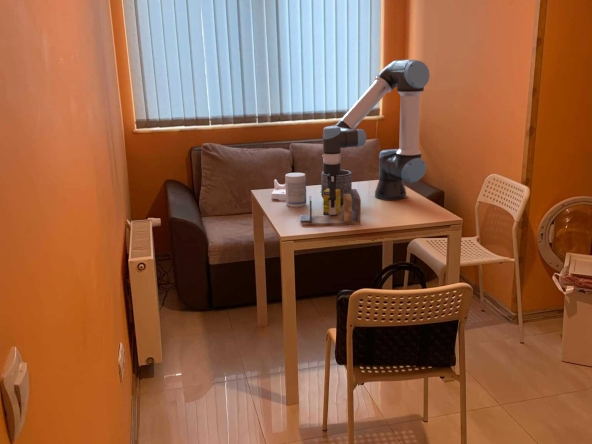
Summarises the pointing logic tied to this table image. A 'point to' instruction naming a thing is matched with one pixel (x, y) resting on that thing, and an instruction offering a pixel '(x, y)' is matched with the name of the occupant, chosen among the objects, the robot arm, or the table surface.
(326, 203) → the supplement box
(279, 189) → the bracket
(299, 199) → the supplement tub
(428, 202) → the table surface
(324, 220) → the board
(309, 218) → the bookend
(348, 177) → the planter
